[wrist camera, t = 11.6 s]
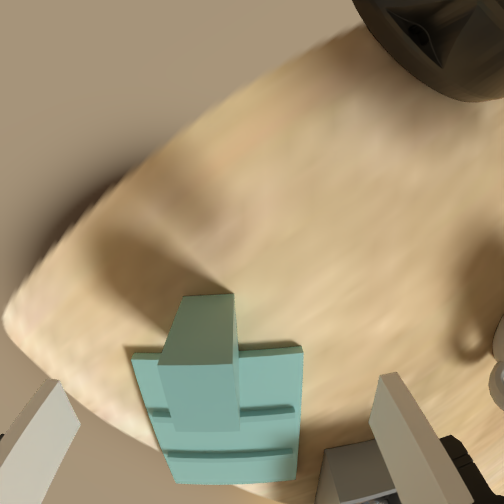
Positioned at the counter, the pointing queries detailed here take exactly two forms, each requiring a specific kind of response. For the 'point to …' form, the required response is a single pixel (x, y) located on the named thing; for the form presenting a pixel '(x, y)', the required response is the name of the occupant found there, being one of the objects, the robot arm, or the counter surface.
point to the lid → (222, 399)
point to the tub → (355, 475)
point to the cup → (498, 367)
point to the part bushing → (376, 501)
